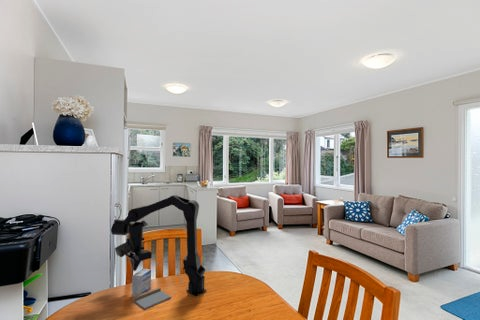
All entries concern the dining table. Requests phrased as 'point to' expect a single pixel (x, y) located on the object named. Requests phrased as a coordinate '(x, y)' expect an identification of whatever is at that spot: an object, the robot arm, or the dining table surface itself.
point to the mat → (151, 298)
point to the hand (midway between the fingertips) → (134, 270)
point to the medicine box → (141, 282)
